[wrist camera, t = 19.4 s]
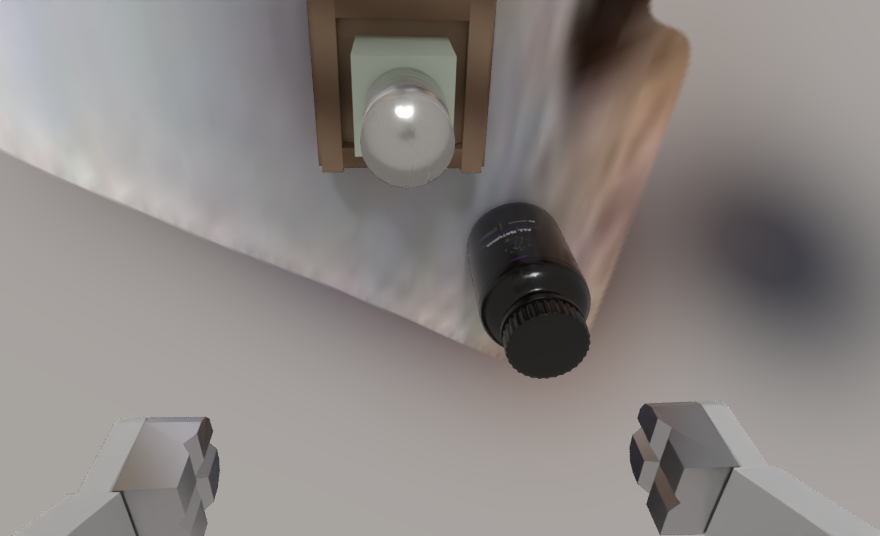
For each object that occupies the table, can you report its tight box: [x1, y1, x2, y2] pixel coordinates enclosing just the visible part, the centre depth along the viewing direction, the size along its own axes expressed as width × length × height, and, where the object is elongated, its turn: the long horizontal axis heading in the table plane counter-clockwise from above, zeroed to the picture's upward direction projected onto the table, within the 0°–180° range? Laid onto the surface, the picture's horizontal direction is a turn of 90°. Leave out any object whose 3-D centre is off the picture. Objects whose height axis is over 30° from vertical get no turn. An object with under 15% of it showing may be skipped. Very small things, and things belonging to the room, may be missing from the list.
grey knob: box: [360, 67, 455, 188], centre depth 27 cm, size 4×4×5 cm
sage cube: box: [351, 35, 457, 157], centre depth 31 cm, size 5×5×5 cm
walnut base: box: [307, 0, 497, 173], centre depth 34 cm, size 10×10×4 cm
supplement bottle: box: [468, 203, 590, 379], centre depth 38 cm, size 7×7×12 cm
